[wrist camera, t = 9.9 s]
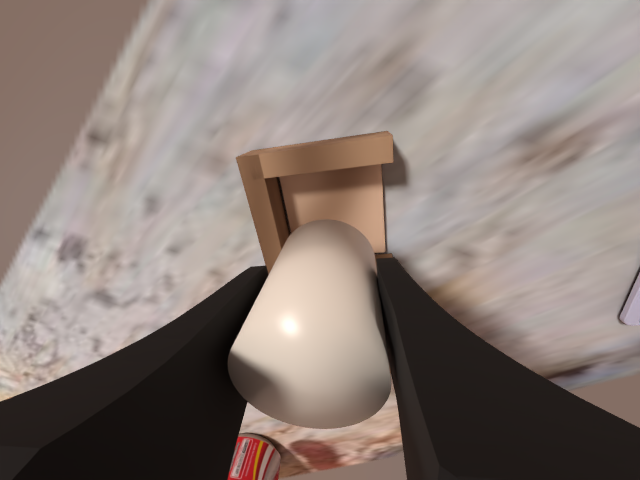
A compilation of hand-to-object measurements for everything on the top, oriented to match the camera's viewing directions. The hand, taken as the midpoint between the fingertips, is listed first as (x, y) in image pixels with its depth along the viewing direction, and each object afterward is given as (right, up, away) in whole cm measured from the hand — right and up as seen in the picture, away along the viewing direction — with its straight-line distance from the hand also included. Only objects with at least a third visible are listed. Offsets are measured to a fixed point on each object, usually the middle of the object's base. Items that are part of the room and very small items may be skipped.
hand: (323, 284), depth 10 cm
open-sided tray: (+1, 0, +8) cm, 8 cm away
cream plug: (0, +1, +1) cm, 2 cm away
